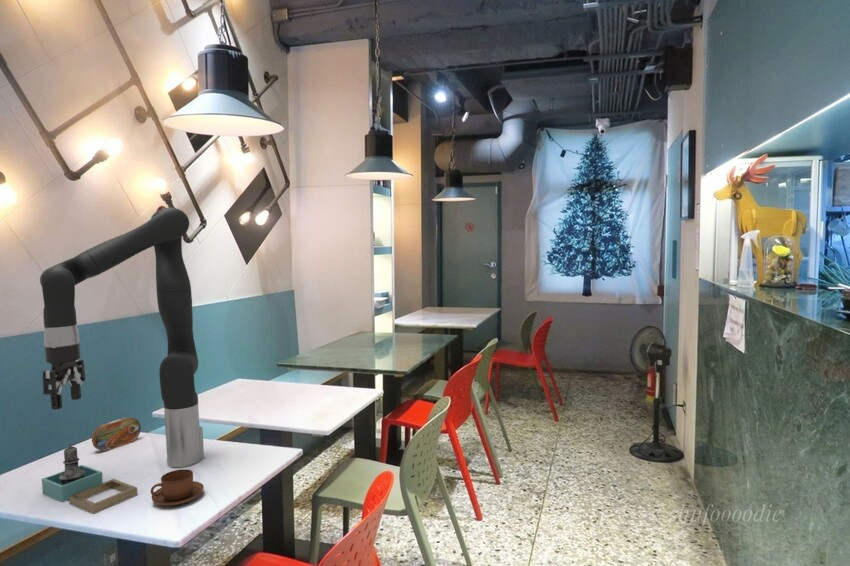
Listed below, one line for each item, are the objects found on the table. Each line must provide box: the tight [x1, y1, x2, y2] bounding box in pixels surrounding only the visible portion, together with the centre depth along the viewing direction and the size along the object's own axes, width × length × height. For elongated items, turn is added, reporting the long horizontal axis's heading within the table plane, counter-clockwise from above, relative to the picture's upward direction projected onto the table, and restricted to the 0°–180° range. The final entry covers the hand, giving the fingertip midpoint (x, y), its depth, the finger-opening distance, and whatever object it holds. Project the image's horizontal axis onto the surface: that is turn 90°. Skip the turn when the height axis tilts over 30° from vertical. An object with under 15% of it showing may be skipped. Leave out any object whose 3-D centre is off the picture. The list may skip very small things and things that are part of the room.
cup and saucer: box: [150, 468, 204, 507], centre depth 134 cm, size 12×12×6 cm
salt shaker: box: [59, 443, 85, 485], centre depth 140 cm, size 6×6×12 cm
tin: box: [91, 416, 142, 452], centre depth 172 cm, size 15×3×8 cm, turn 152°
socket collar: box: [68, 478, 139, 515], centre depth 135 cm, size 11×11×2 cm
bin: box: [41, 464, 104, 503], centre depth 140 cm, size 10×10×4 cm
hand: (67, 403), depth 139 cm, fingers open, 8 cm apart
